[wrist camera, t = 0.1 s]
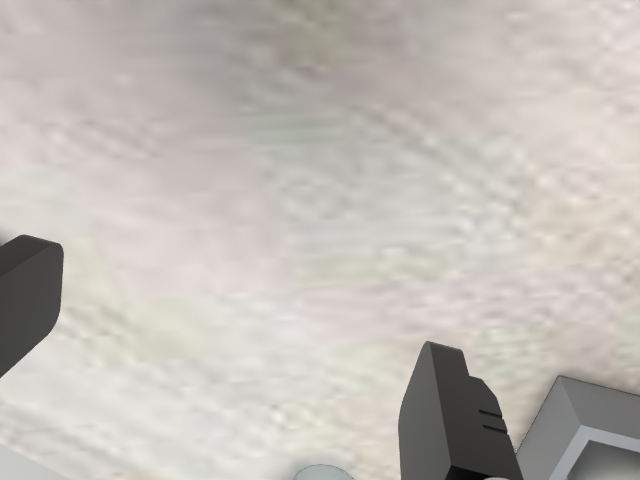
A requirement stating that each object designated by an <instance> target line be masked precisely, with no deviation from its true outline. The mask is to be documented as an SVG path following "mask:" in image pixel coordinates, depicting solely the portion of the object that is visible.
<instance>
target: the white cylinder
mask: <svg viewBox="0 0 640 480" xmlns="http://www.w3.org/2000/svg"><path fill="white" fill-rule="evenodd" d="M567 478H568V480H640V452H636V451H632V450H628V449H624V448H620V447H616V446H612V445H608V444H604V443H600V442H596V441H593V440H589V441H588V442H587V444H586V446H585V447H584V449H583V451H582V452H581V454H580V456H579V457H578V459H577V460H576V462H575V464H574V465H573V467H572V469H571V470H570V472H569V474H568V475H567Z"/></svg>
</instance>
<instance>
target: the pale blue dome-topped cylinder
mask: <svg viewBox="0 0 640 480" xmlns="http://www.w3.org/2000/svg"><path fill="white" fill-rule="evenodd" d="M294 480H353V478H352V477H351V476H350V475H349V474H348V473H346V472H345V471H343V470H341V469H339V468H336V467H333V466H328V465H314V466H310V467H307V468H305V469H303V470H301V471H300V472H299V473H298V474H297V475H296V477H295V479H294Z"/></svg>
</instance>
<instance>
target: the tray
mask: <svg viewBox="0 0 640 480" xmlns="http://www.w3.org/2000/svg"><path fill="white" fill-rule="evenodd" d="M589 440H593V441H596V442H600V443H604V444H608V445H612V446H616V447H620V448H624V449H628V450H632V451H636V452H640V396H637V395H633V394H629V393H625V392H621V391H617V390H613V389H609V388H605V387H601V386H597V385H593V384H589V383H585V382H581V381H578V380H574V379H570V378H566V377H562V376H558V378H557V380H556V382H555V384H554V385H553V387H552V389H551V391H550V393H549V395H548V397H547V398H546V400H545V402H544V404H543V406H542V408H541V410H540V411H539V413H538V415H537V417H536V419H535V421H534V423H533V424H532V426H531V428H530V430H529V432H528V434H527V436H526V437H525V439H524V441H523V443H522V445H521V447H520V449H519V450H518V452H517V454H516V458H517V461H518V464H519V467H520V470H521V473H522V476H523V479H524V480H568V478H567V475H568V474H569V472H570V470H571V469H572V467H573V465H574V464H575V462H576V460H577V459H578V457H579V456H580V454H581V452H582V451H583V449H584V447H585V446H586V444H587V442H588V441H589Z"/></svg>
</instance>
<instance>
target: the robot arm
mask: <svg viewBox="0 0 640 480" xmlns="http://www.w3.org/2000/svg"><path fill="white" fill-rule="evenodd" d="M63 258H64V253H63V248H62V246H61V245H60V244H59V243H55V242H52V241H48V240H44V239H40V238H36V237H33V236H29V235H20V236H18V237H16V238H15V239H13V240H11V241H9V242H7V243H6V244H4V245H2V246H0V378H1V377H2V376H3V375H4V374H5V373H6V372H8V371H9V370H10V369H11V368H12V367H13V366H14V365H15V364H16V363H17V362H19V361H20V360H21V359H22V358H23V357H24V356H25V355H26V354H27V353H28V352H30V351H31V350H32V349H33V348H34V347H35V346H36V345H37V344H38V343H39V342H41V341H42V340H43V339H44V338H45V337H46V336H47V335H48V334H49V333H50V332H51V330H52V329H53V327H54V325H55V323H56V321H57V319H58V316H59V312H60V306H61V290H62V274H63ZM398 432H399V449H400V467H401V480H524V479H523V476H522V473H521V470H520V467H519V464H518V461H517V458H516V455H515V452H514V449H513V446H512V443H511V440H510V437H509V435H507V428H506V425H505V422H504V419H502V413H501V410H500V407H499V404H498V401H497V398H496V396H495V395H494V394H493V393H492V391H491V390H490V389H489V388H488V386H487V385H486V384H485V383H484V382H483V380H482V379H479V378H475V377H472V376H469V373H468V369H467V366H466V362H465V358H464V355H463V352H462V350H460V349H456V348H453V347H449V346H445V345H441V344H437V343H434V342H430V341H426V342H425V344H424V345H423V347H422V349H421V352H420V355H419V357H418V360H417V363H416V366H415V368H414V371H413V374H412V376H411V379H410V382H409V385H408V387H407V390H406V393H405V395H404V398H403V401H402V405H401V409H400V415H399V423H398Z"/></svg>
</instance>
